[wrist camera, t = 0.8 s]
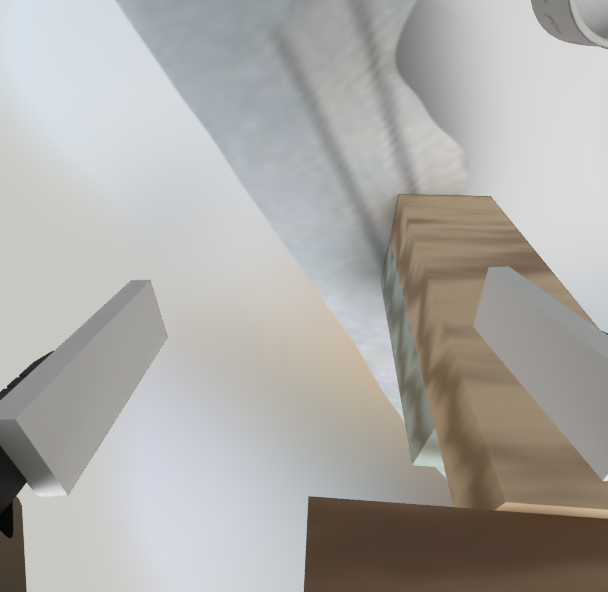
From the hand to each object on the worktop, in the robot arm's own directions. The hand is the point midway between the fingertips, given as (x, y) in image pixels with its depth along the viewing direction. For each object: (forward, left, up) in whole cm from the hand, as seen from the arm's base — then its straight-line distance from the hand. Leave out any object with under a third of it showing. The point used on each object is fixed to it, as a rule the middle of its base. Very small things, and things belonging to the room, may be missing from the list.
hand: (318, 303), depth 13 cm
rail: (+10, +12, +5) cm, 16 cm away
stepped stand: (+13, +13, -25) cm, 32 cm away
